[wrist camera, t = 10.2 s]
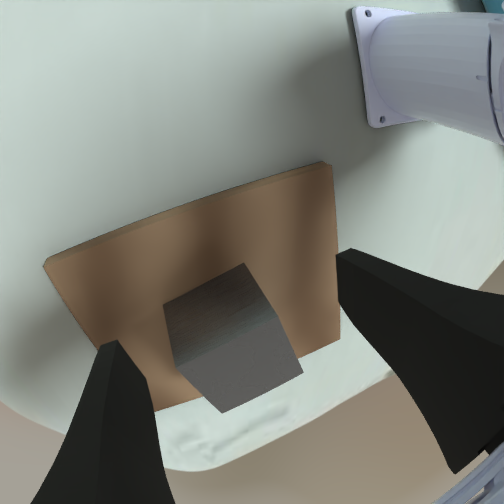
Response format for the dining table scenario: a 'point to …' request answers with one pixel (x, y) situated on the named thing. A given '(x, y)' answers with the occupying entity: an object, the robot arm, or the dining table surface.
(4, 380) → the dining table surface
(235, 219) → the post board
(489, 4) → the casserole dish
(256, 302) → the square cap
